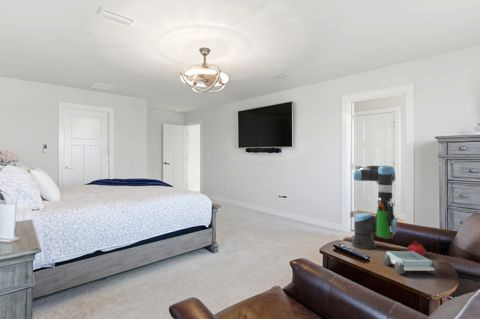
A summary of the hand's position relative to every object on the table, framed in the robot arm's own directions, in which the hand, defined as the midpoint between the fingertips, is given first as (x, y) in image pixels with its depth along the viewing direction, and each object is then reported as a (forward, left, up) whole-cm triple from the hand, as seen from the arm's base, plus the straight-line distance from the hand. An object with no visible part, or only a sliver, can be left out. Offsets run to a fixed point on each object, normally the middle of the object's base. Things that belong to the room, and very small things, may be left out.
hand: (385, 229), depth 155 cm
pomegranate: (-12, +27, -20) cm, 36 cm away
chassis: (+10, +7, -20) cm, 23 cm away
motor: (0, 0, -4) cm, 4 cm away
